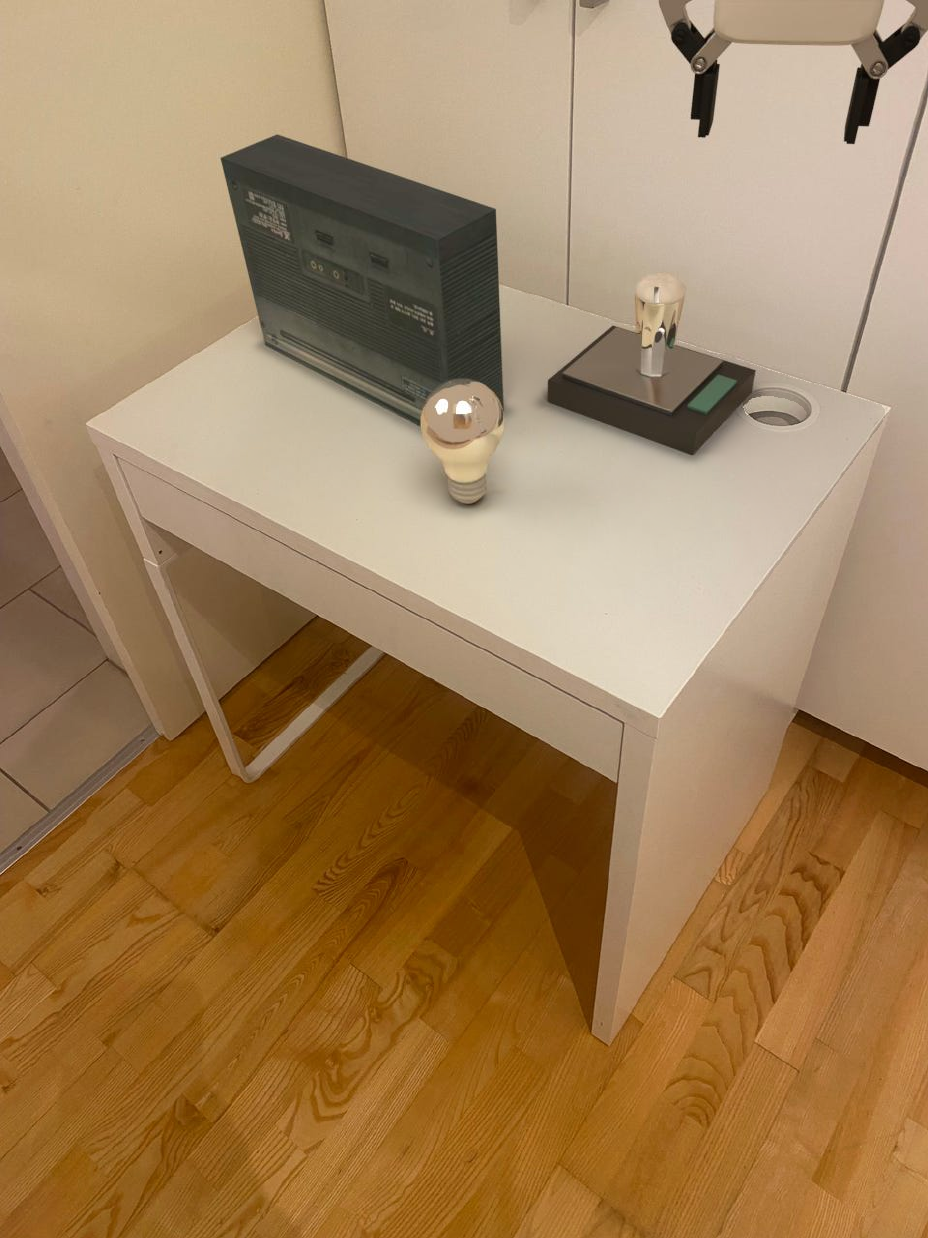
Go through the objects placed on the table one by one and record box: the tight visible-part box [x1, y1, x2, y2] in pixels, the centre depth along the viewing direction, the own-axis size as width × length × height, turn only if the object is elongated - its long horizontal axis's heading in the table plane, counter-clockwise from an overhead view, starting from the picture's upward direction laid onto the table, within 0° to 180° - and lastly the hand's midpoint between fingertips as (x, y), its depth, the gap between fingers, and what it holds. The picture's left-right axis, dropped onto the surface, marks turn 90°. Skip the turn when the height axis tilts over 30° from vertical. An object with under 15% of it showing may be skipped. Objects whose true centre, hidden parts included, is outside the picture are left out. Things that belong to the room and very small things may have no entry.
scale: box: [547, 325, 757, 456], centre depth 93 cm, size 16×12×3 cm
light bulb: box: [420, 378, 505, 505], centre depth 81 cm, size 7×7×12 cm
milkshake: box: [634, 272, 687, 377], centre depth 88 cm, size 4×5×10 cm
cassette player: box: [220, 134, 505, 427], centre depth 93 cm, size 29×7×20 cm, turn 46°
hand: (776, 133), depth 66 cm, fingers open, 9 cm apart
